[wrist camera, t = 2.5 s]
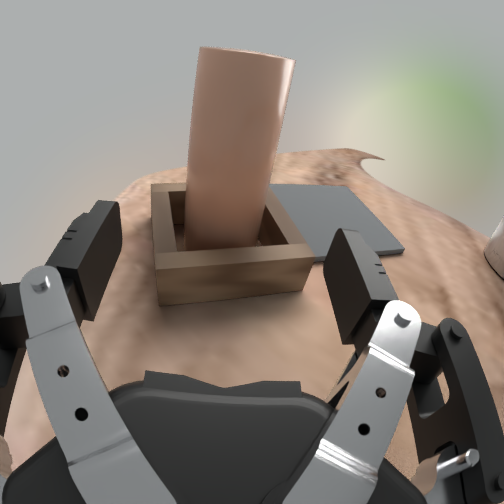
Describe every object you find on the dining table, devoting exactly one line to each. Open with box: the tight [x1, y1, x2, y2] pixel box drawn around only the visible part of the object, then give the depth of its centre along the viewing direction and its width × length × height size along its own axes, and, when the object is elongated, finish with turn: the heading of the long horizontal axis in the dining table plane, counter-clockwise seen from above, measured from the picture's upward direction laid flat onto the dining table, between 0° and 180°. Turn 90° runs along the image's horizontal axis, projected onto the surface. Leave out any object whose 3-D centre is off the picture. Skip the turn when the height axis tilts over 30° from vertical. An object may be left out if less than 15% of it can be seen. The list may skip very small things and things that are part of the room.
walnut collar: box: [151, 183, 316, 306], centre depth 25 cm, size 11×11×4 cm
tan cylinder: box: [184, 47, 296, 251], centre depth 22 cm, size 8×6×16 cm
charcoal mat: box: [269, 184, 405, 262], centre depth 33 cm, size 13×13×1 cm
